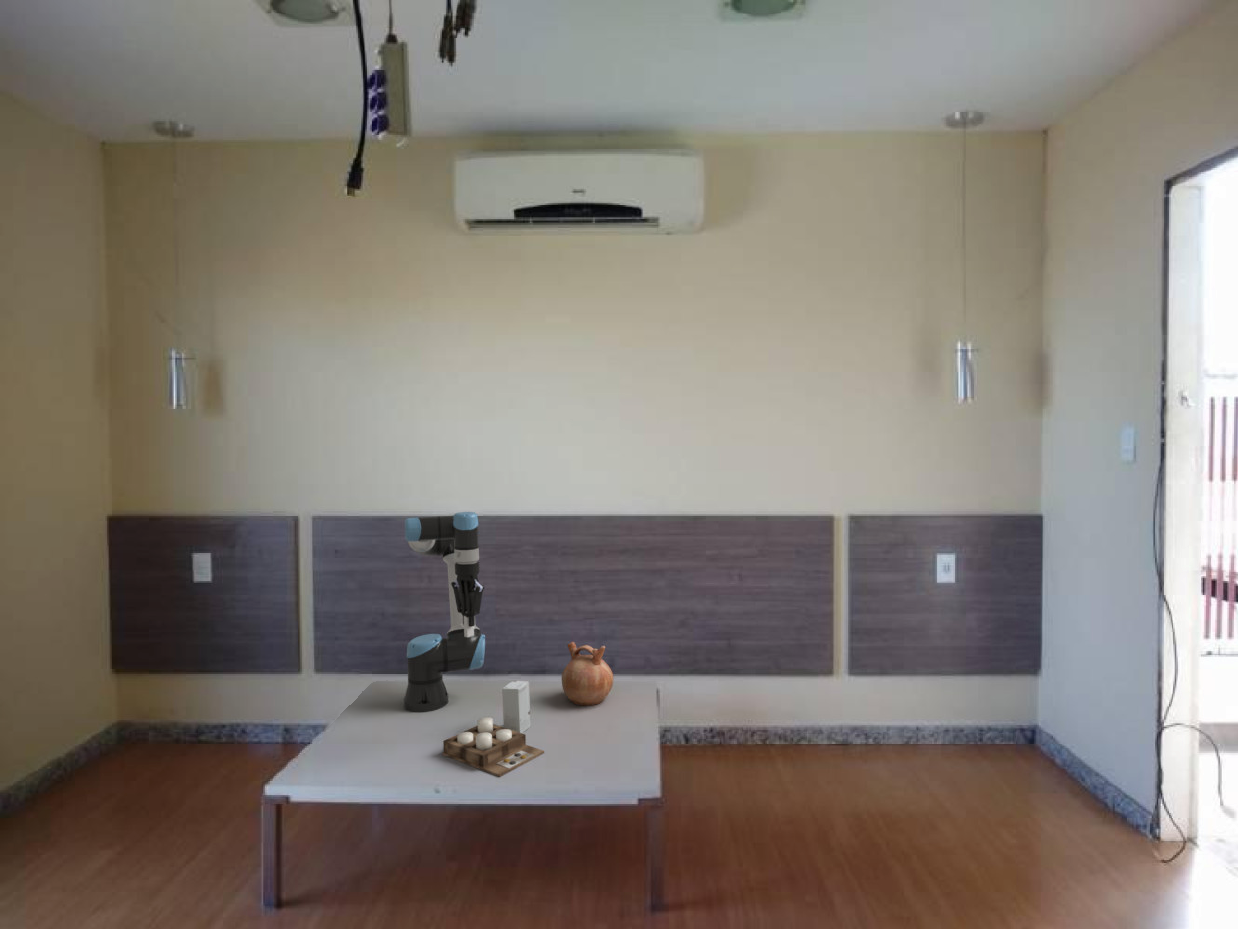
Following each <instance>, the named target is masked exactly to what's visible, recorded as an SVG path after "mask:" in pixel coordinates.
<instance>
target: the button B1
mask: <svg viewBox="0 0 1238 929" xmlns="http://www.w3.org/2000/svg"><path fill="white" fill-rule="evenodd" d="M490 748H492V734H491V733H479V734H477V735H476V749H478V750H480V751H483V752H484V751H486V750H488V749H490Z"/></svg>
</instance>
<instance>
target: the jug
mask: <svg viewBox="0 0 1238 929" xmlns="http://www.w3.org/2000/svg"><path fill="white" fill-rule="evenodd" d="M567 648H568V650H569V654H570V657H571V660H570V661H569V662H568V664H566V665H565V667H564V669H563V671H562V673H561V687H562V690H563V692H564V693H565V696H567V698H568V699H569V700H570V702H572V703H573V704H575V705H576V706H577V705H579V706H583V707H584V706H585V707H586V706H587V705H589V706H594V705H595V704H596V705H599V704H601V703H602V702H603V701H605V700H606V698H607V697H608V695H609V694H610V692H611V690H612V689H613V686H614V673H613V670H612V669H611V667H610V665H609V664H608V663H606V661H605V660H604V659H603V655H604V653H605V649H606V646H605V645H602V646H600V647H599V649H598V648H593V647H592V646H591V645H588V644H585V645H582V646H579V647H577V645H576V643H575V641H571V642H570V643H568V644H567ZM581 651H586V652H588V653H590V654H580V652H581ZM587 707H588V706H587Z"/></svg>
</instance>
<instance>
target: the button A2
mask: <svg viewBox="0 0 1238 929" xmlns="http://www.w3.org/2000/svg"><path fill="white" fill-rule="evenodd" d="M493 724H494V719H493V718H492V717H489V716H487V717H485V716H484V717H480V718H478V719H477V725H478V733H491V732H493Z"/></svg>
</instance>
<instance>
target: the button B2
mask: <svg viewBox="0 0 1238 929" xmlns="http://www.w3.org/2000/svg"><path fill="white" fill-rule="evenodd" d="M510 738H512V731H511V730H509V729H502V730H499V731H497V732H496V739H498V740H500V741H503V742H504V741H506V740H508V739H510Z"/></svg>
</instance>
